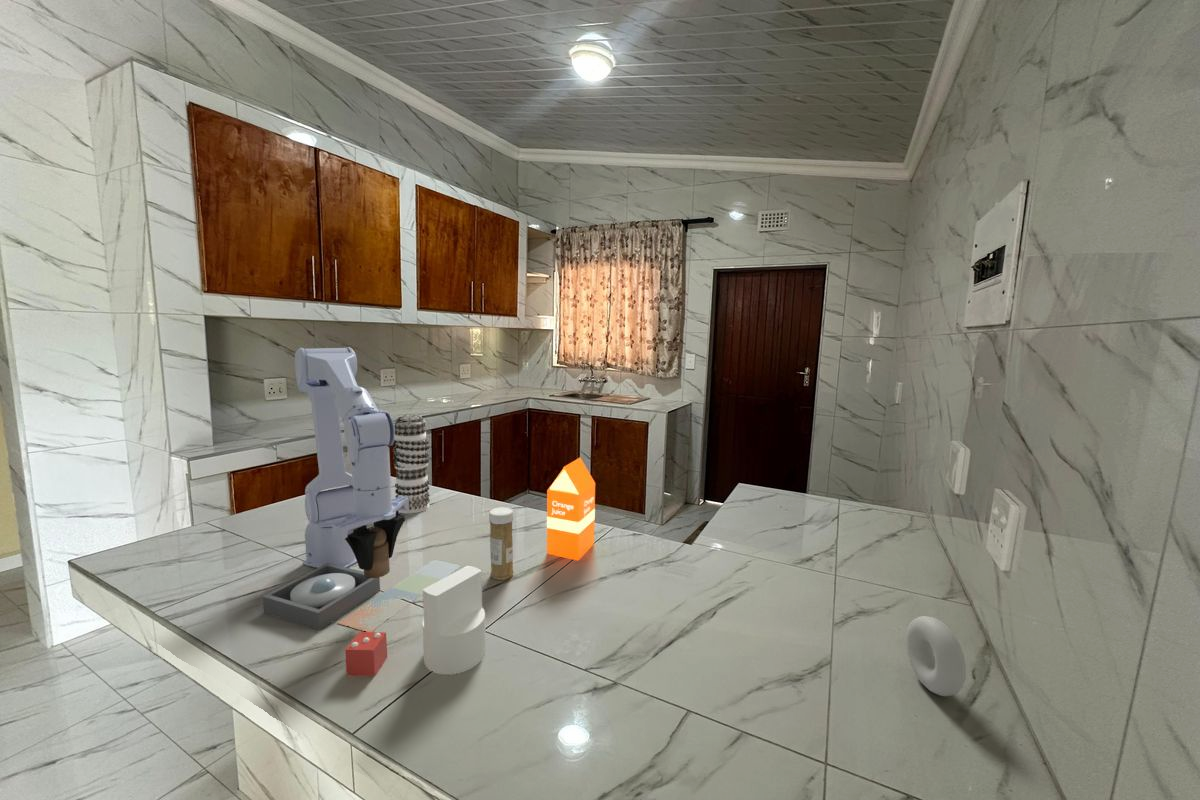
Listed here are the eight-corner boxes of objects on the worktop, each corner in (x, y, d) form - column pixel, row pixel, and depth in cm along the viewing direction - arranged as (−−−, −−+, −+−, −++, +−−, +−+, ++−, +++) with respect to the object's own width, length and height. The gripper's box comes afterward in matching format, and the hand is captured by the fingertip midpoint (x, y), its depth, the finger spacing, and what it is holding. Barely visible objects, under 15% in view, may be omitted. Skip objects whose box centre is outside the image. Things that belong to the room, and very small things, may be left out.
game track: (337, 623, 81) (337, 622, 81) (433, 560, 103) (433, 559, 103) (370, 633, 79) (370, 632, 79) (461, 566, 101) (461, 565, 101)
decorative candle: (387, 512, 128) (382, 418, 125) (406, 500, 137) (403, 412, 134) (419, 515, 127) (416, 420, 123) (437, 502, 136) (434, 413, 132)
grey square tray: (263, 612, 84) (262, 596, 83) (328, 577, 96) (327, 562, 95) (319, 630, 79) (318, 613, 79) (380, 590, 91) (379, 575, 91)
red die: (346, 675, 69) (344, 646, 69) (360, 656, 73) (358, 629, 73) (374, 676, 69) (373, 647, 69) (387, 657, 73) (385, 629, 73)
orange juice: (546, 553, 107) (546, 465, 104) (564, 538, 115) (565, 455, 112) (578, 560, 104) (580, 469, 101) (594, 544, 113) (596, 459, 109)
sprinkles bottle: (517, 577, 97) (516, 512, 95) (495, 583, 95) (494, 516, 93) (508, 567, 101) (507, 504, 99) (486, 573, 98) (485, 509, 96)
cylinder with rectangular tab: (452, 683, 68) (450, 603, 66) (410, 659, 73) (407, 584, 71) (498, 648, 76) (497, 575, 74) (457, 628, 81) (455, 559, 79)
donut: (897, 662, 74) (904, 601, 73) (920, 663, 74) (928, 602, 73) (940, 714, 65) (950, 644, 63) (967, 715, 65) (977, 645, 63)
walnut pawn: (358, 575, 83) (355, 530, 81) (376, 565, 86) (374, 521, 85) (376, 580, 81) (374, 534, 80) (394, 569, 85) (392, 525, 84)
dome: (277, 608, 84) (275, 586, 84) (327, 580, 94) (326, 561, 93) (320, 621, 81) (319, 599, 80) (368, 591, 90) (367, 571, 90)
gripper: (355, 503, 73) (360, 588, 75) (421, 476, 87) (424, 548, 89) (320, 496, 76) (325, 579, 78) (389, 471, 89) (393, 542, 91)
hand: (376, 562), depth 83 cm, fingers closed on walnut pawn, 4 cm apart
